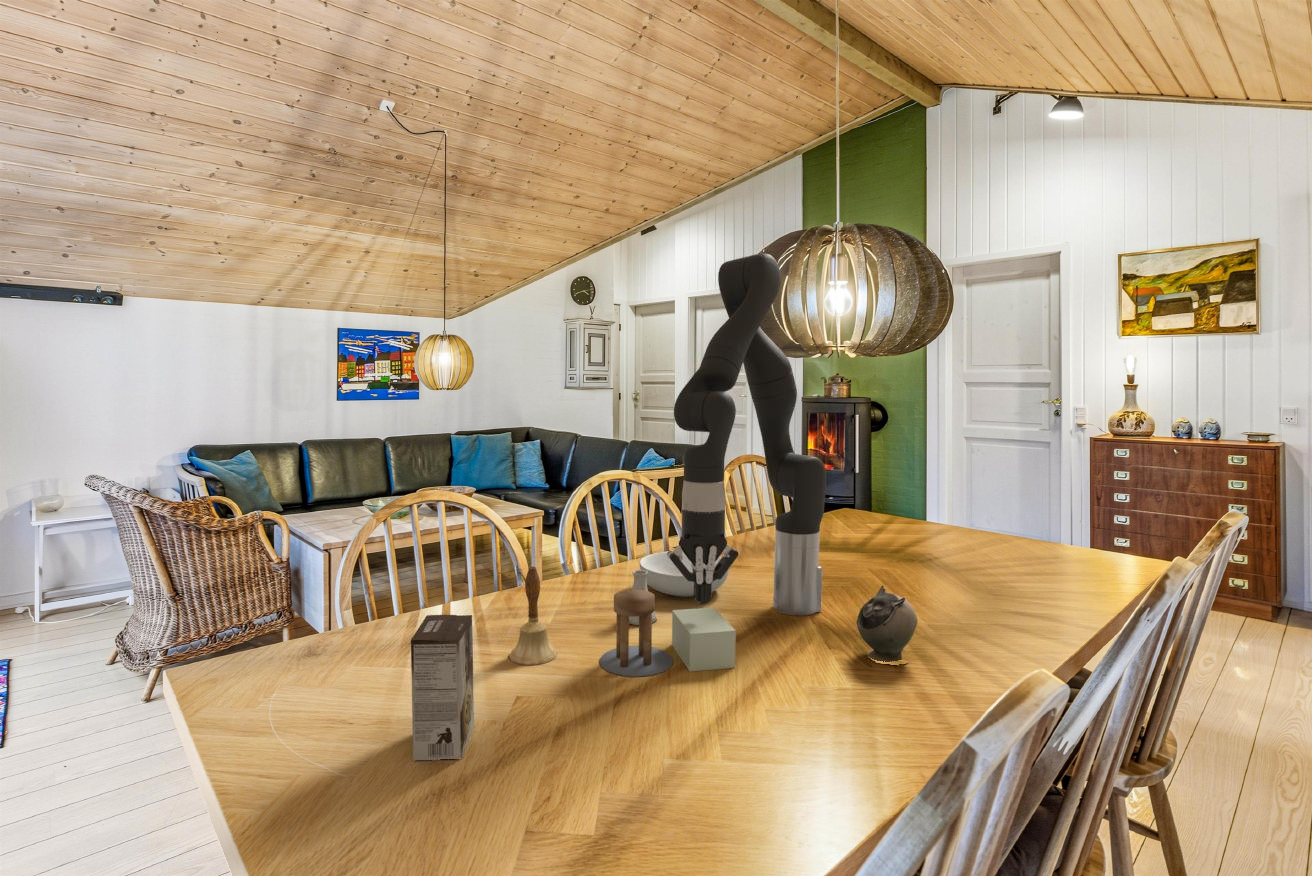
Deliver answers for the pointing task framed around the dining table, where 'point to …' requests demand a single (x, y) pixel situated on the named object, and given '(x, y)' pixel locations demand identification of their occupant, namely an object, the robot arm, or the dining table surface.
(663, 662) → the mat
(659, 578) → the serving bowl
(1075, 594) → the dining table surface
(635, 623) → the flask
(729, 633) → the box
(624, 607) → the stool
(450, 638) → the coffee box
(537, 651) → the hand bell
